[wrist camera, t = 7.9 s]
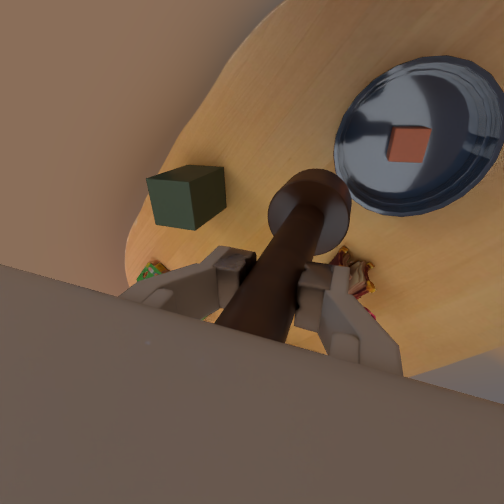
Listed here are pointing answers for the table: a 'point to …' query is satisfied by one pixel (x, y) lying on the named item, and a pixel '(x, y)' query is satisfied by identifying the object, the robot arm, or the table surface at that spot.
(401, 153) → the terracotta block
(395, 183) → the bowl
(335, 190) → the masher with cylindrical head
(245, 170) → the table surface
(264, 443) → the robot arm
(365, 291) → the book monster
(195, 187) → the stand
